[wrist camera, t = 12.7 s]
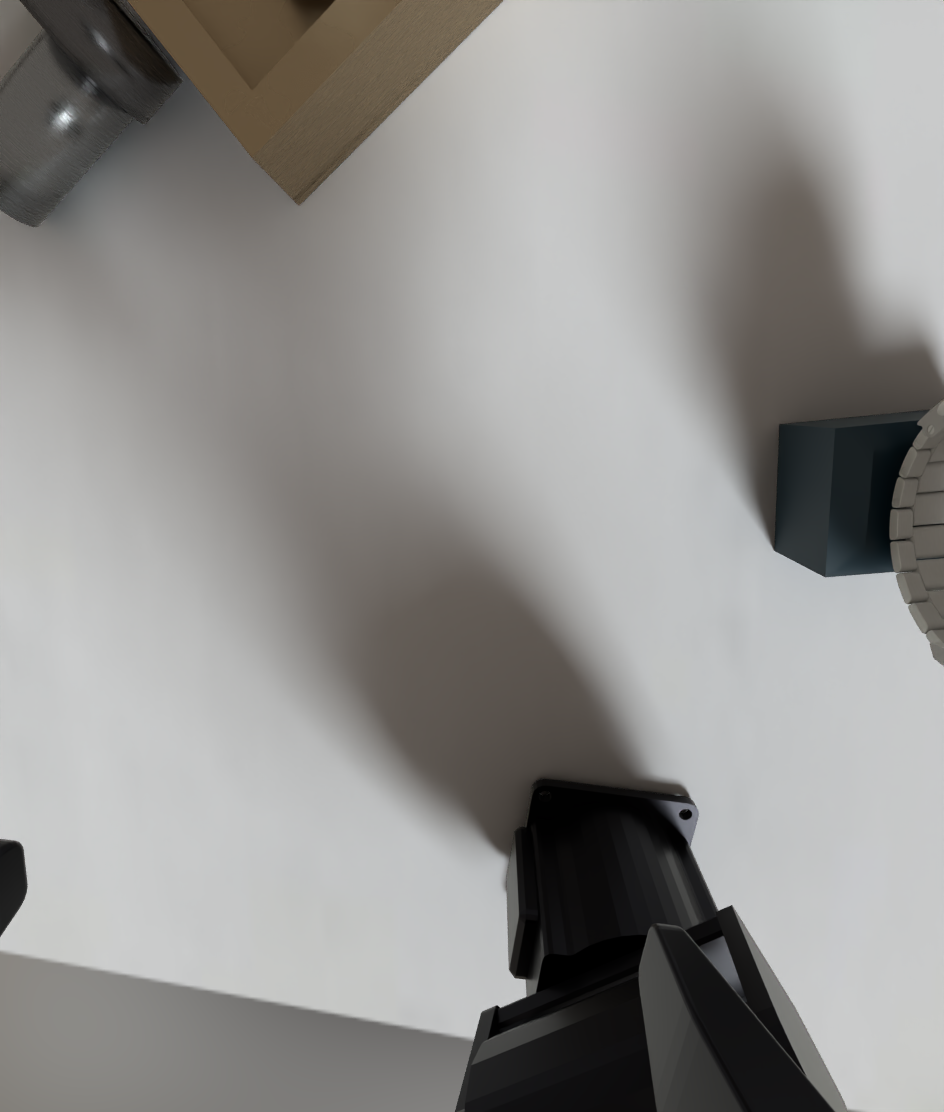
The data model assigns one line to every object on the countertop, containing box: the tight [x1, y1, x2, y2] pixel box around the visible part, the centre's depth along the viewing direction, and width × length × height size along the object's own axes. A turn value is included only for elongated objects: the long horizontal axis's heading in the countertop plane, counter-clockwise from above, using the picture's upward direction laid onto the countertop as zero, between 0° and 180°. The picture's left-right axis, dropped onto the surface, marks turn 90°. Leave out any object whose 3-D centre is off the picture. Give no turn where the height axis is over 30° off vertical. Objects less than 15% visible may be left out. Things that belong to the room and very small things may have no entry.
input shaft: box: [0, 0, 183, 227], centre depth 15 cm, size 6×4×4 cm, turn 129°
